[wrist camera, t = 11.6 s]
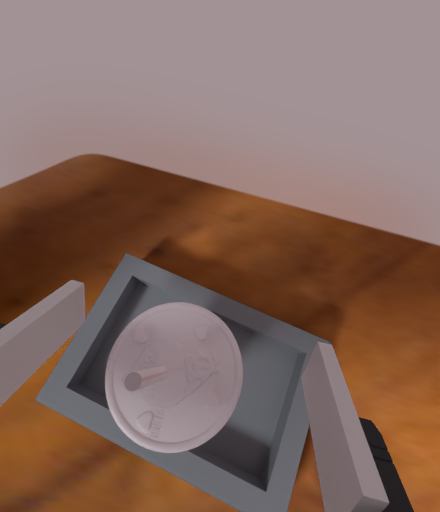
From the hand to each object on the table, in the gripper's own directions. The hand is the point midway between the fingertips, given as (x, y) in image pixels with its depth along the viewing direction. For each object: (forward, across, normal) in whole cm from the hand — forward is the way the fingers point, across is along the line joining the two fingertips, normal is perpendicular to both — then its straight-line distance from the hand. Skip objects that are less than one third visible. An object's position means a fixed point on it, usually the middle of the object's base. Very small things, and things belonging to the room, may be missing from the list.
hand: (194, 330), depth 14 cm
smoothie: (+4, 0, -7) cm, 8 cm away
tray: (+4, 0, -8) cm, 9 cm away
